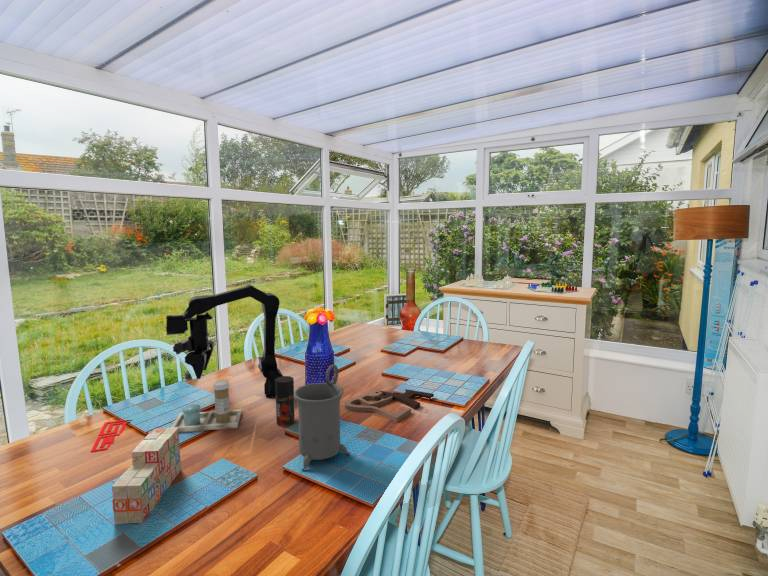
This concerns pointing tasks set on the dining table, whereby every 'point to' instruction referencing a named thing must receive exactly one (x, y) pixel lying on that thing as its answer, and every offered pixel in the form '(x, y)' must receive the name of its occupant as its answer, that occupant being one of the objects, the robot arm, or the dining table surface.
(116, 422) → the maze puzzle
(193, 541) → the dining table surface
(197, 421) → the pot
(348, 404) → the wood carving
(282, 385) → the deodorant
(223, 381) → the sprinkles bottle
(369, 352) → the dining table surface
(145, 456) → the stack of blocks
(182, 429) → the caddy
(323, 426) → the grey footed bucket
